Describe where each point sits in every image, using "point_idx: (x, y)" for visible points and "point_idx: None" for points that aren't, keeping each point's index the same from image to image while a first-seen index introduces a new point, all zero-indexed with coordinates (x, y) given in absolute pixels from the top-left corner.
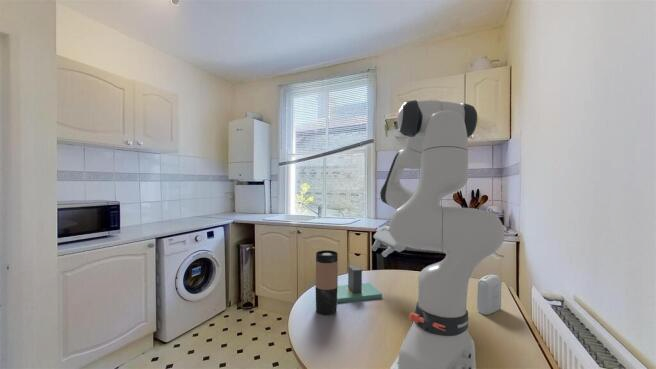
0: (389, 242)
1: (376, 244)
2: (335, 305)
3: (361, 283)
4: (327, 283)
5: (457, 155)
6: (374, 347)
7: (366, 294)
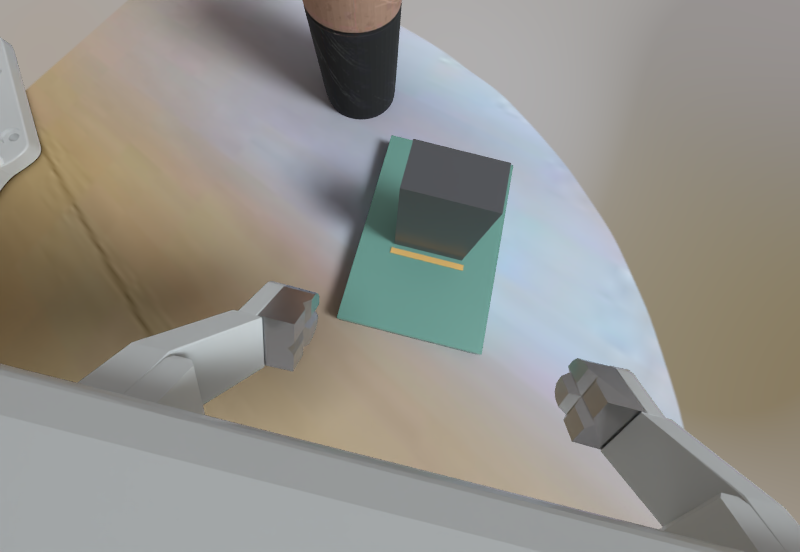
0: (85, 432)
1: (667, 479)
2: (325, 82)
3: (396, 225)
4: None
5: None
6: (110, 89)
7: (368, 250)
